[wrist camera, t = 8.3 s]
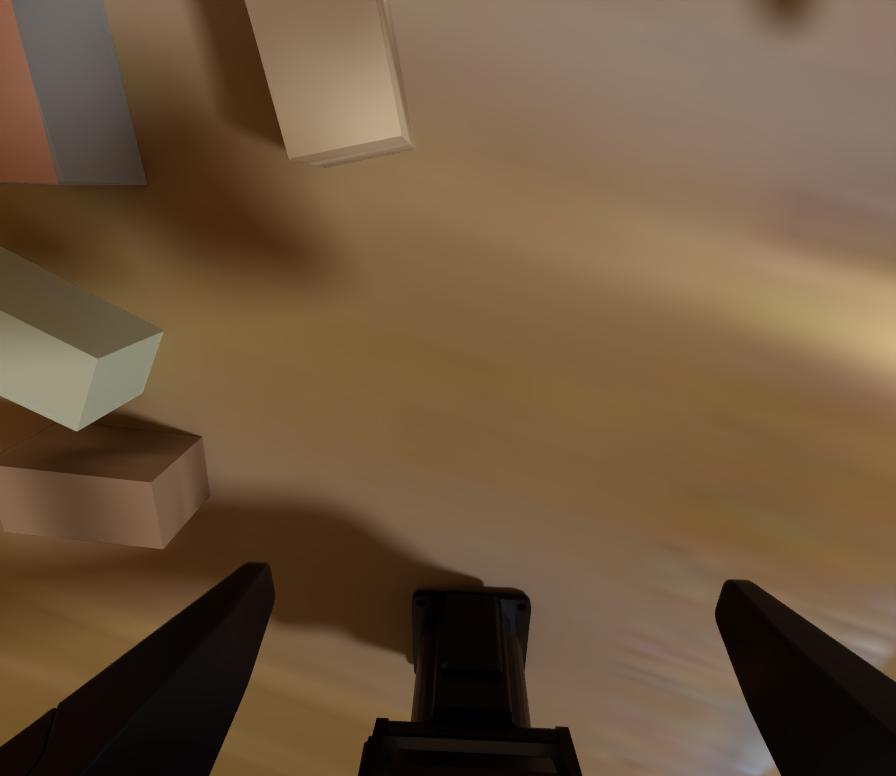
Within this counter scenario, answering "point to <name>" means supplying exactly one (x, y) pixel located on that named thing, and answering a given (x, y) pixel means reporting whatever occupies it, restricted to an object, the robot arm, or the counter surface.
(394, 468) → the counter surface
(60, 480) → the walnut block
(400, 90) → the birch block
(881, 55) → the counter surface
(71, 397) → the sage block
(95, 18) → the slate block
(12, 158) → the terracotta block
